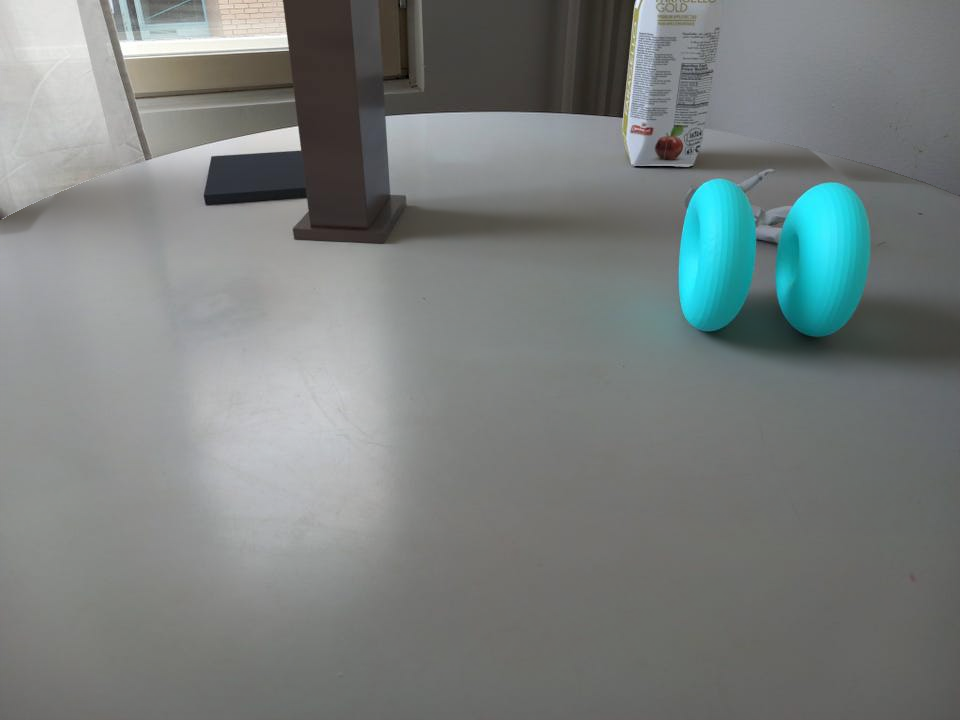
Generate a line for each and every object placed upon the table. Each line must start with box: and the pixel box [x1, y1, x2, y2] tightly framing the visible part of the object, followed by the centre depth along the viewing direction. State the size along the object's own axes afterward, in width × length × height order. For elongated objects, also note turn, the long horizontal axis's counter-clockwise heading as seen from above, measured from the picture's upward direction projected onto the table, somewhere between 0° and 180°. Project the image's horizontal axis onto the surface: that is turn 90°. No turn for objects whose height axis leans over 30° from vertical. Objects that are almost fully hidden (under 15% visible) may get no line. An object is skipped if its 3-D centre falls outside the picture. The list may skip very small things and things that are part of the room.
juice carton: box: [621, 0, 724, 165], centre depth 81 cm, size 8×9×19 cm
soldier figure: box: [684, 168, 793, 244], centre depth 64 cm, size 8×5×12 cm
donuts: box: [678, 178, 871, 338], centre depth 49 cm, size 10×10×10 cm
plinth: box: [282, 0, 407, 244], centre depth 61 cm, size 10×8×31 cm
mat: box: [203, 150, 307, 206], centre depth 79 cm, size 14×10×1 cm
